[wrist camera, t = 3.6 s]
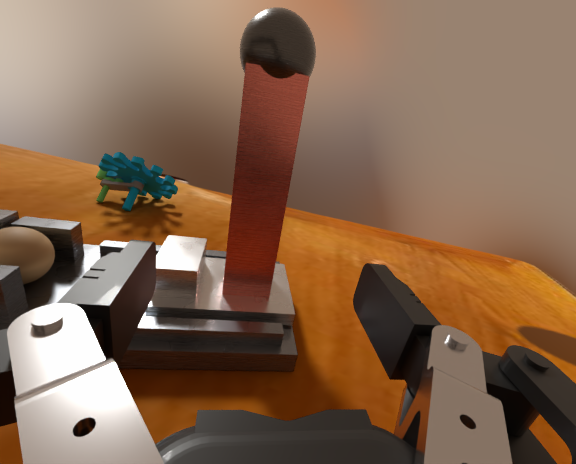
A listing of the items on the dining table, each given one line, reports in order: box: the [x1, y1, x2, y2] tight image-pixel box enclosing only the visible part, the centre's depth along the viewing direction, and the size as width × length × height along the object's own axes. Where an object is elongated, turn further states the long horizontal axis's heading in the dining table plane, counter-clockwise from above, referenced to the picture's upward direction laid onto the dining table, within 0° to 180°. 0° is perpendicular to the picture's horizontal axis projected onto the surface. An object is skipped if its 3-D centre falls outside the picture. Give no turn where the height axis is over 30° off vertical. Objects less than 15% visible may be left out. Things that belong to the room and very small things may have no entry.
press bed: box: [0, 210, 298, 371], centre depth 21 cm, size 28×12×5 cm, turn 98°
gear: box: [96, 152, 178, 211], centre depth 39 cm, size 11×6×10 cm
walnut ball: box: [0, 227, 55, 284], centre depth 20 cm, size 4×4×4 cm
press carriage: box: [145, 8, 316, 325], centre depth 19 cm, size 10×7×19 cm
